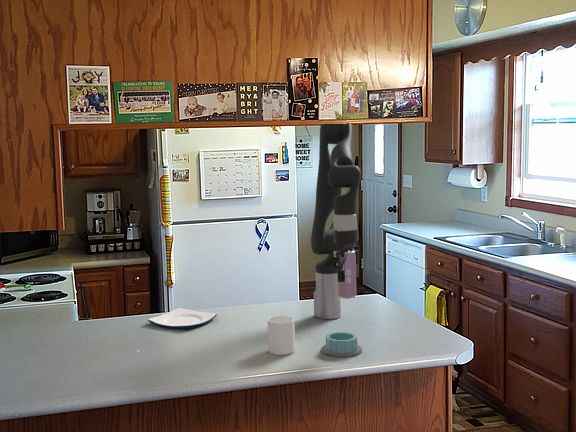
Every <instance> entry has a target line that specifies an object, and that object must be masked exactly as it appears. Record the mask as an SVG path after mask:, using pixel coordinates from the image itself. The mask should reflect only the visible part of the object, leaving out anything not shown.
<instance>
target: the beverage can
mask: <svg viewBox="0 0 576 432" xmlns="http://www.w3.org/2000/svg"><path fill="white" fill-rule="evenodd" d="M347 253H348V254H347ZM355 253H356V252H355V250H354V251H350V252H345V256H346V254H347V263H346V264H345V269H344V271H345V281H344V282H338V296H339V297H340V298H341V299H347V300H348V299H354V298H356V296H357V267H356V266H357V264H356V254H355ZM345 256H344V257H341V260H344V259H345ZM341 266H342V263H341ZM337 279H338V273H337Z"/></svg>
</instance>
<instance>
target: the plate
mask: <svg viewBox="0 0 576 432" xmlns="http://www.w3.org/2000/svg"><path fill="white" fill-rule="evenodd" d="M217 316H218V313H217V312H216V313H214V312H204V311H198V310H191V309H188V308H187V309H186V308H184V307H178V308H176V309H173V310H171V311H169V312H166V313H164V314H160V315H158V316H154V317H151V318H147V321H148V322H149V323H151V324H154V325H156V326H159V327H162V328H166V329H172V330H173V329H174V330H175V329H176V330H187V329H188V330H189V329H194V328H197V327H200V326H202V325H203V326H204V325H205V324H207V323H209V322H210V321H212V320H214V319H215V318H216V317H217Z"/></svg>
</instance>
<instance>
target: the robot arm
mask: <svg viewBox="0 0 576 432" xmlns="http://www.w3.org/2000/svg"><path fill="white" fill-rule="evenodd" d="M352 144H353V127H352V123H351V124H350V123H347V124H346V125H344V124H324V125H321V124H320V125H319V145H318V146H319V149H318V150H319V151H318V153H319V154H318V155H319V156H318V171H317V176H316V177H317V178H316V187H315V188H316V189H315V207H314V208H315V210H314V217H313V223H312V228H311V229H312V230H311V237H310V247H311V251H312V253H313V254H315V255H318V256H319V255H320V256H321V255H327V256H326V257H325V258H324V259H323V260H321V261H319V262H317V263H316V265H315V290H314V291H313V315H314V317H316V318H318V319H322V320H335V319H339V318H341V314H342V313H341V311H342V310H341V301H342V300H341V299H342V298H340V297H339V296H338V282H344V281H345V271H344V269H345V264H346V263H347V254H348V253H347V254H346V256H345V252H350V251H354V250H355V254H356V265H359V264H360V245H355V244H357V242H358V218H357V195H358V191H359V187H360V183H361V180H362V172H361V169H360V167H358V166H357V165H355V164H354V159H353V155H352V154H353V153H352V147H353V145H352ZM329 145H334V147H333V148H332V151H331V153H330V151H329ZM344 188H345V189H346V188H348V189H349V190H348V191H347V192H346V193H344V194H342V190H343V189H344ZM332 213H333V228H326V224H327V222H328V219H329V217H330V215H331V214H332ZM344 256H345V259H344V260H341V257H344ZM341 263H342V266H341ZM337 273H338V279H337Z"/></svg>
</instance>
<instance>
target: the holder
mask: <svg viewBox="0 0 576 432" xmlns="http://www.w3.org/2000/svg"><path fill="white" fill-rule="evenodd" d="M321 353H322V354H323V355H325V356H328V357H333V358H341V359H342V358H351V357H357V356H359V355H361V354H362V353H363V348H362V346H361V345H359V344H358V335H357V334H355V332H354V333H353V332H349V331H334V332H330V333H327V334H326V335H325V344H324V345H323V346H322V347H321Z"/></svg>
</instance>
